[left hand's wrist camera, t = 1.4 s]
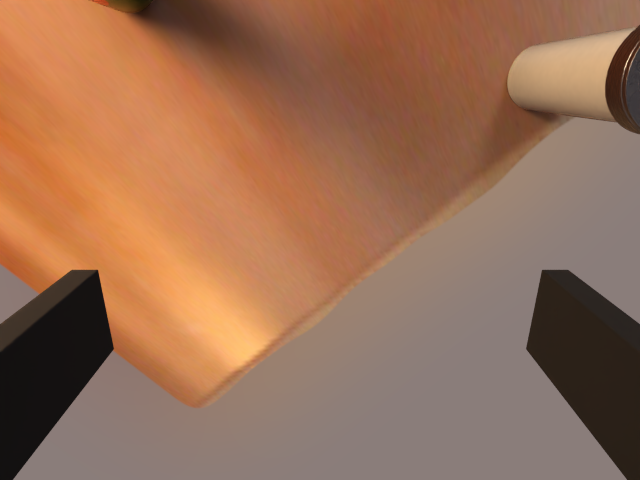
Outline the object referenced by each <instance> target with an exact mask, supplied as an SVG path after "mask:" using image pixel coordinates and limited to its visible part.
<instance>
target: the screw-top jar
mask: <svg viewBox="0 0 640 480" xmlns="http://www.w3.org/2000/svg"><path fill="white" fill-rule="evenodd" d="M637 27H638V26H636V27H630V28H625V29H619V30H613V31H608V32H602V33H596V34H591V35H585V36H579V37H574V38H568V39H562V40H556V41H551V42H545V43H539V44H536V45H533V46H531V47H529V48H527V49H526V50H524V51H523V52H522V53H521V54H520V55H519V56H518V57H517V58H516V59H515V61H514V62H513V64H512V66H511V68H510V71H509V74H508V79H507V86H508V92H509V94H510V97H511V99H512V100H513V101H514V103H515V104H516V105H518V106H519V107H521V108H523V109H525V110H530V111H537V112H544V113H552V114H559V115H566V116H574V117H581V118H589V119H596V120H604V121H611V122H617V121H616V120H615V119H614V118H613V116H612V115H611V113H610V111H609V109H608V106H607V103H606V97H605V81H606V76H607V71H608V68H609V65H610V63H611V60H612V58H613V56H614V54H615V53H616V51H617V49H618V48H619V46H620V45H621V44H622V42H623V41H624V40H625V39H626V37H627V36H628V35H629V34H630V33H631V32H632V31H633V30H635V29H636V28H637Z"/></svg>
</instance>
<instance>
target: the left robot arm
mask: <svg viewBox="0 0 640 480" xmlns="http://www.w3.org/2000/svg"><path fill="white" fill-rule="evenodd" d="M113 349H114V347H113V342H112V338H111V333H110V328H109V323H108V318H107V313H106V308H105V303H104V298H103V293H102V288H101V283H100V278H99V273H98V270H71V271H70V272H69V273H67V274H66V275H65V276H63V277H62V278H61V279H59V280H58V281H57V282H55V283H54V284H53V285H51V286H50V287H49V288H47V289H46V290H45V291H43V292H42V293H41V294H40V295H38V296H37V297H36V298H34V299H33V300H32V301H30V302H29V303H28V304H26V305H25V306H24V307H22V308H21V309H20V310H18V311H17V312H16V313H14V314H13V315H12V316H10V317H9V318H8V319H7V320H5V321H4V322H3V323H1V324H0V480H13V479H14V477H15V476H16V475H17V473H18V472H19V471H20V470H21V468H22V467H23V466H24V465H25V463H26V462H27V461H28V459H29V458H30V457H31V455H32V454H33V453H34V452H35V450H36V449H37V448H38V446H39V445H40V444H41V443H42V441H43V440H44V439H45V437H46V436H47V435H48V433H49V432H50V431H51V430H52V428H53V427H54V426H55V424H56V423H57V422H58V421H59V419H60V418H61V417H62V415H63V414H64V413H65V411H66V410H67V409H68V407H69V406H70V405H71V404H72V402H73V401H74V400H75V398H76V397H77V396H78V395H79V393H80V392H81V391H82V389H83V388H84V387H85V386H86V384H87V383H88V382H89V380H90V379H91V378H92V377H93V375H94V374H95V373H96V371H97V370H98V369H99V367H100V366H101V365H102V363H103V362H104V361H105V360H106V358H107V357H108V356H109V354H110V353H111V352H112V351H113ZM526 349H527V351H528V352H529V353H530V355H531V356H532V357H533V358H534V360H535V361H536V362H537V364H538V365H539V366H540V367H541V369H542V370H543V371H544V373H545V374H546V375H547V377H548V378H549V379H550V380H551V382H552V383H553V384H554V386H555V387H556V388H557V389H558V391H559V392H560V393H561V395H562V396H563V397H564V399H565V400H566V401H567V402H568V404H569V405H570V406H571V408H572V409H573V410H574V411H575V413H576V414H577V415H578V417H579V418H580V419H581V420H582V422H583V423H584V424H585V426H586V427H587V428H588V430H589V431H590V432H591V433H592V435H593V436H594V437H595V439H596V440H597V441H598V442H599V444H600V445H601V446H602V448H603V449H604V450H605V452H606V453H607V454H608V455H609V457H610V458H611V459H612V461H613V462H614V463H615V465H616V466H617V467H618V468H619V470H620V471H621V472H622V474H623V475H624V476H625V477H626V479H627V480H640V324H639V323H637V322H636V321H635V320H633V319H632V318H631V317H630V316H628V315H627V314H626V313H624V312H623V311H622V310H620V309H619V308H618V307H616V306H615V305H614V304H612V303H611V302H610V301H608V300H607V299H606V298H604V297H603V296H602V295H600V294H599V293H598V292H596V291H595V290H594V289H593V288H591V287H590V286H589V285H587V284H586V283H585V282H583V281H582V280H581V279H579V278H578V277H577V276H575V275H574V274H573V273H571V272H570V271H569V270H542V273H541V278H540V283H539V288H538V293H537V298H536V303H535V308H534V313H533V318H532V323H531V328H530V333H529V338H528V343H527V347H526Z"/></svg>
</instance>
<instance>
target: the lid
mask: <svg viewBox="0 0 640 480" xmlns="http://www.w3.org/2000/svg"><path fill="white" fill-rule="evenodd" d="M605 97H606V103H607V106H608V109H609V111H610V113H611V115H612V116H613V118H614V119H615V120H616V121H617V122H618V123H619V124H620V125H621V126H622V127H623V128H625V129H627V130H629V131H631V132H633V133H637V134H640V25H639V26H638V27H637V28H636V29H635V30H633V31H632V32H631V33H630V34H629V35H628V36H627V37H626V39H625V40H624V41H623V42H622V44H621V45H620V46H619V48H618V49H617V51H616V53H615V54H614V56H613V58H612V60H611V63H610V65H609V68H608V71H607V76H606V81H605Z"/></svg>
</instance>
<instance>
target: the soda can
mask: <svg viewBox="0 0 640 480" xmlns="http://www.w3.org/2000/svg"><path fill="white" fill-rule="evenodd" d="M90 1H93V2H95V3H98V4H101V5H104V6H107V7H109V8H112V9H115V10H118V11H121V12H125V13H135V12H139V11H142V10H143V9H145V8H146V7H147V6H149V4H150V3H151V2H152V1H153V0H90Z"/></svg>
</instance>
